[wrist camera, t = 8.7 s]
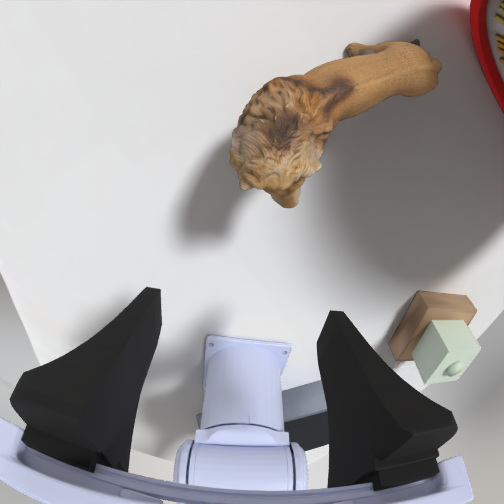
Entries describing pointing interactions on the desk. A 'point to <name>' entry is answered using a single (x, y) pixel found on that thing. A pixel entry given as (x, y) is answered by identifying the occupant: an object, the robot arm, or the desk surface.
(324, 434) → the external hard drive
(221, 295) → the desk surface
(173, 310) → the desk surface
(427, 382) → the sage brick
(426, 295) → the base brick
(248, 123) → the lion figurine
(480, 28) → the toy clock
